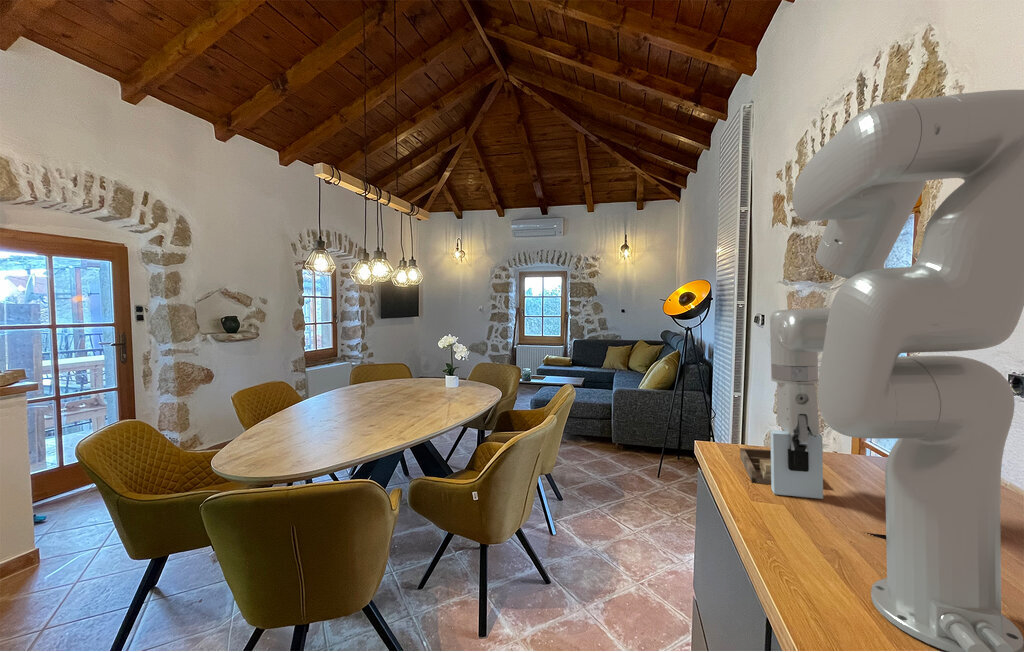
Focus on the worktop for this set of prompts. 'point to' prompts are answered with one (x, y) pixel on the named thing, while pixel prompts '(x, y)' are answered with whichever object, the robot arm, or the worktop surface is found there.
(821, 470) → the board
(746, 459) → the rack
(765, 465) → the offcut top
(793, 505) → the worktop surface
